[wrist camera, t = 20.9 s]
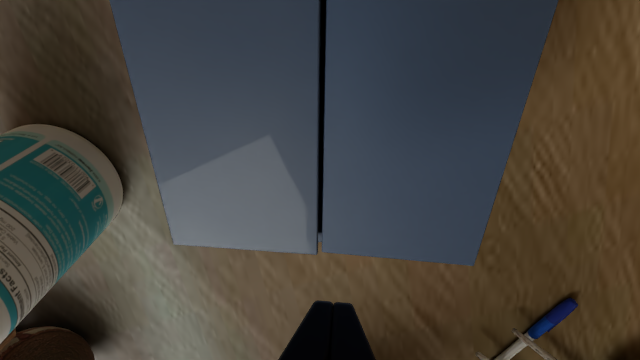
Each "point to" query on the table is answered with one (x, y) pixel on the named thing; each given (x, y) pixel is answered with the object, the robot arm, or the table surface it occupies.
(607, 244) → the table surface
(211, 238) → the carton
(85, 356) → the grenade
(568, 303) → the ballpoint pen
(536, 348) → the nutcracker
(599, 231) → the table surface
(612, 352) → the table surface
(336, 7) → the flap
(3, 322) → the pill bottle
